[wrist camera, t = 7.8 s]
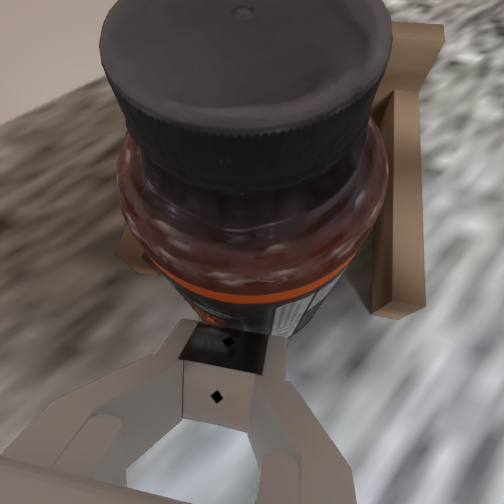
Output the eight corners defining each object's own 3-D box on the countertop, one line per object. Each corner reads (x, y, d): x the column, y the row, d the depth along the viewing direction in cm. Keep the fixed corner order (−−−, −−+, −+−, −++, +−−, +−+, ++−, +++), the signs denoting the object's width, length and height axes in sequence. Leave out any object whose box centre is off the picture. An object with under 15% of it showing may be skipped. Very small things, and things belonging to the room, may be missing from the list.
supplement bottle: (169, 286, 14) (-67, 21, 4) (255, 209, 16) (241, -116, 6) (258, 381, 12) (237, 329, 2) (346, 282, 14) (565, -8, 4)
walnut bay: (398, 319, 13) (467, 286, 9) (138, 273, 15) (80, 224, 10) (398, 114, 18) (443, 24, 14) (202, 94, 20) (183, 7, 15)
